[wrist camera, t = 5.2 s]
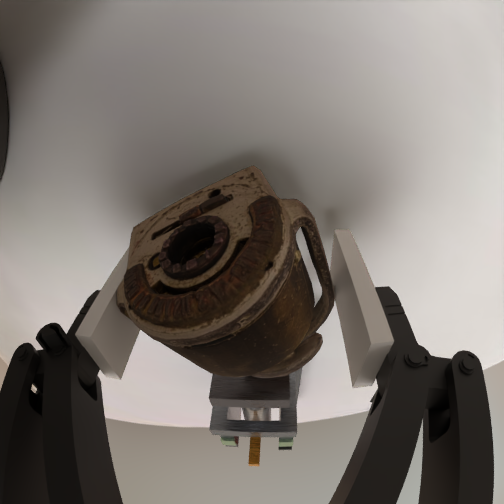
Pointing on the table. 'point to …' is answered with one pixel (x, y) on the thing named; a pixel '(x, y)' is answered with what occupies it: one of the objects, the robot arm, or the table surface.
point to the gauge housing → (232, 427)
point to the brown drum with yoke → (229, 279)
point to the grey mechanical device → (251, 400)
